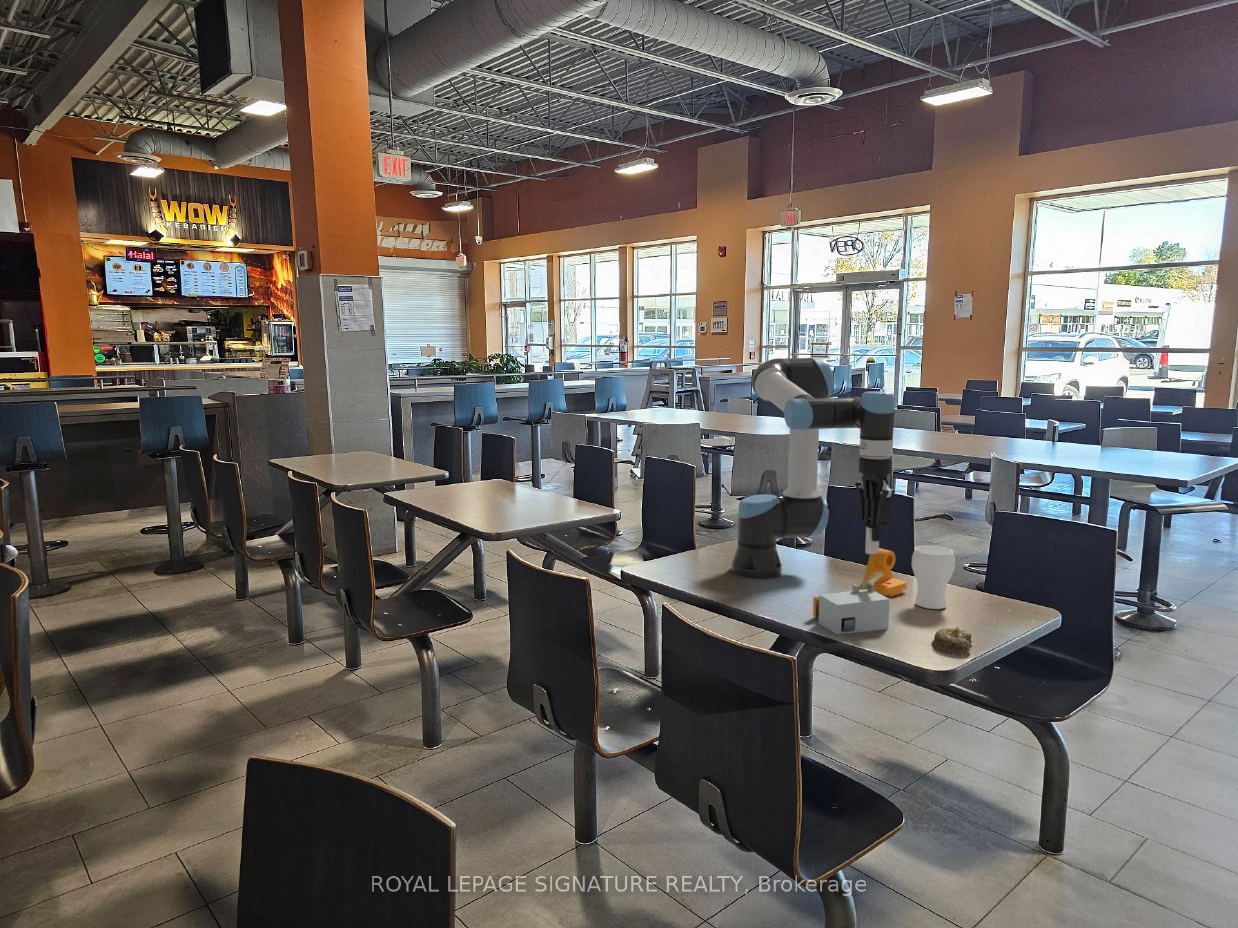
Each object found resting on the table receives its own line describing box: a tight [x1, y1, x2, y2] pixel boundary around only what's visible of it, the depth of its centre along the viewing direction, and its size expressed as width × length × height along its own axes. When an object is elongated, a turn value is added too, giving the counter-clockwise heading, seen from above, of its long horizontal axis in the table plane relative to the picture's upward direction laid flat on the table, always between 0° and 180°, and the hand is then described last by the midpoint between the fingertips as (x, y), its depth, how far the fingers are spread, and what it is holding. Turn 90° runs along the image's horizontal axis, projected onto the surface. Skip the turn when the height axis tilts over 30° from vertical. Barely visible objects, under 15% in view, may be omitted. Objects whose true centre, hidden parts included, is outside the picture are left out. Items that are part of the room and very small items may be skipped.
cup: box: [911, 544, 956, 610], centre depth 209 cm, size 11×11×15 cm
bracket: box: [862, 547, 907, 598], centre depth 220 cm, size 11×7×12 cm, turn 126°
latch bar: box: [857, 572, 884, 590], centre depth 193 cm, size 9×3×1 cm
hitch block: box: [818, 583, 891, 635], centre depth 193 cm, size 8×14×10 cm, turn 106°
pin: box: [812, 596, 854, 630], centre depth 194 cm, size 12×5×5 cm, turn 16°
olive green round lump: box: [930, 627, 973, 656], centre depth 180 cm, size 10×10×5 cm
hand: (871, 553), depth 190 cm, fingers closed
